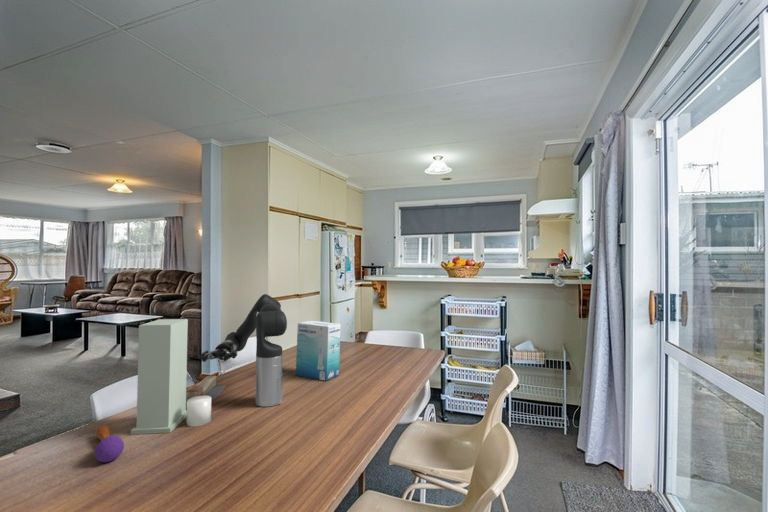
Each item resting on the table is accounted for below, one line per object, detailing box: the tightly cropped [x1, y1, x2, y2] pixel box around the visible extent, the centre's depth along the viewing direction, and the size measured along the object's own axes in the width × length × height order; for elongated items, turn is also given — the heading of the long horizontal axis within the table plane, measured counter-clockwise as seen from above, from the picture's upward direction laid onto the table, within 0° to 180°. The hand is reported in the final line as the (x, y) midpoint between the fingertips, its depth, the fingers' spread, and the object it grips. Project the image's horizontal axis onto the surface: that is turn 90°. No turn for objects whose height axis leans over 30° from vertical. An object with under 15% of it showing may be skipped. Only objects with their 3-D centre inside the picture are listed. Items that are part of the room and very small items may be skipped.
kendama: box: [94, 425, 125, 463], centre depth 96 cm, size 6×6×20 cm
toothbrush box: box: [295, 320, 342, 382], centre depth 161 cm, size 18×10×24 cm, turn 63°
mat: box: [186, 385, 226, 410], centre depth 133 cm, size 10×22×1 cm, turn 7°
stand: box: [130, 318, 189, 435], centre depth 112 cm, size 11×14×32 cm
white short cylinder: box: [185, 396, 212, 427], centre depth 113 cm, size 7×7×7 cm
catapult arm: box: [186, 375, 217, 403], centre depth 136 cm, size 4×20×4 cm, turn 7°
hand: (214, 359), depth 150 cm, fingers open, 8 cm apart
